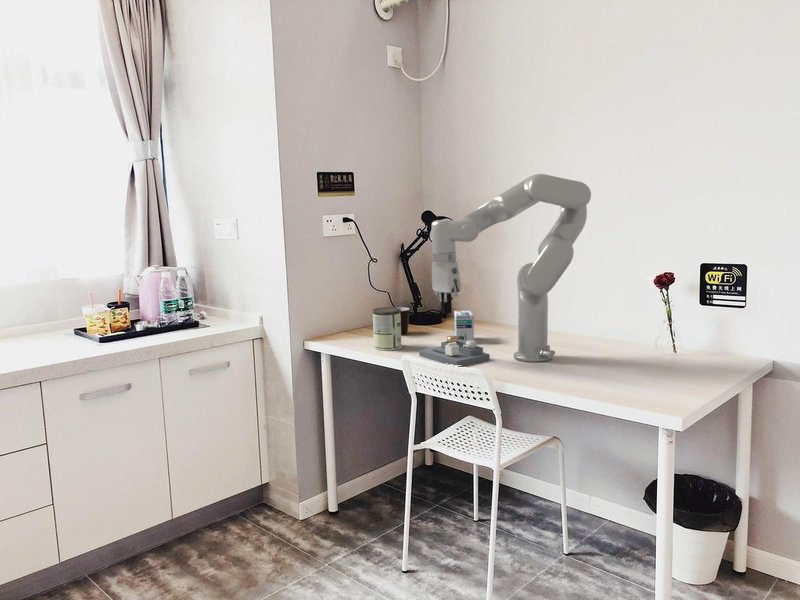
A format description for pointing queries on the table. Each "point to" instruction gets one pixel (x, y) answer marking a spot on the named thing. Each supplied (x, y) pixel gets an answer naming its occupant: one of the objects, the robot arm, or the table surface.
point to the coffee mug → (404, 319)
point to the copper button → (451, 339)
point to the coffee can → (387, 328)
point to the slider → (452, 349)
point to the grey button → (471, 344)
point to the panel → (462, 358)
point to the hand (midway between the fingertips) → (446, 313)
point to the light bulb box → (464, 326)
